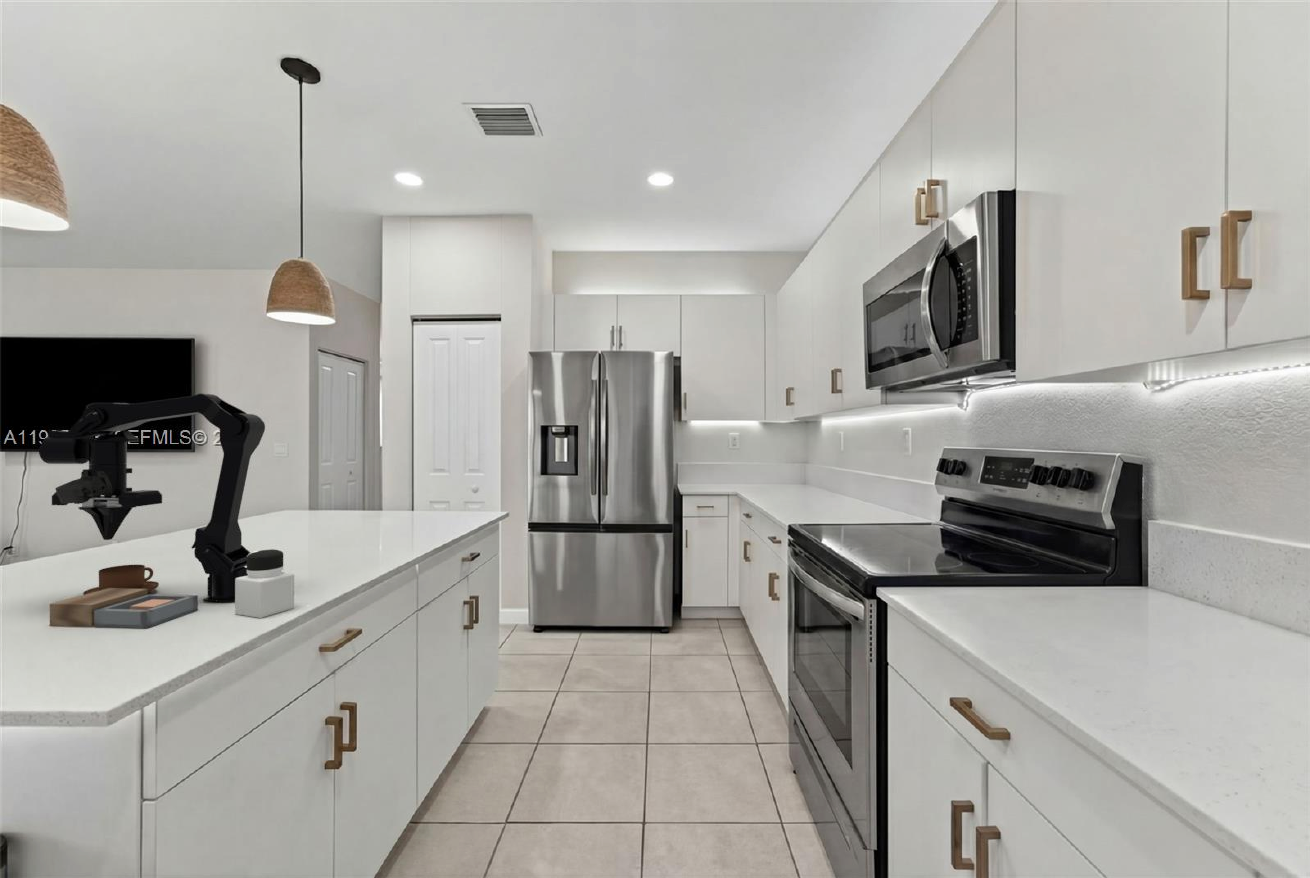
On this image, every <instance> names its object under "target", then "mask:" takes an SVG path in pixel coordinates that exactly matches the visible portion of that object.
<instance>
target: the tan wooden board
mask: <svg viewBox="0 0 1310 878" xmlns="http://www.w3.org/2000/svg"><path fill="white" fill-rule="evenodd" d="M148 594H149V593H148V589H129V588H108V589H104V590H100V591H96V592H93V593H89V594H85V595H83V594H82V595H79V596H74V597H70V598H67V599H64V600H63V599H62V600H60V601H55V602H52V603H49V626H50V627H74V628H75V627H77V628H78V627H79V628H81V627H82V628H93V627H94V610H98V609H101V608H104V607H108V606H111V605H115V604H118V603H121V602H125V601H128V600H131V599H135V598H138V597H142V596H145V595H148Z"/></svg>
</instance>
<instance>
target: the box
mask: <svg viewBox="0 0 1310 878" xmlns="http://www.w3.org/2000/svg"><path fill="white" fill-rule="evenodd" d="M151 599H158V600H175V601H172V602H169V603H166V604H163V605H160V606H157V607H154V608H151V609H148V610H134V609H130V606H132V605H136V604H139V603H142V602H145V601H148V600H151ZM198 601H199V595H197V594H167V593H166V594H162V593H161V594H160V593H159V594H158V593H148V595H145V596H142V597H138V598H135V599H131V600H128V601H125V602H121V603H118V604H115V605H111V606H108V607H104V608H101V609H98V610H94V626H93V627H94V628H106V629H107V628H111V629H112V628H113V629H117V628H118V629H142V630H143V629H144V630H145V629H150V628H153V627H155V626H158V625H161V624H163V623H167V622H169V621H172V620H175V619H177V618H180V617H183V616H186V615H188V614H191V613H194V612H197V611H198V610H199V602H198Z"/></svg>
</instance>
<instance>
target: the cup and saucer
mask: <svg viewBox="0 0 1310 878" xmlns="http://www.w3.org/2000/svg"><path fill="white" fill-rule="evenodd" d="M145 571H148V572H149V575H148V576H147V577H145V575H146V574H145ZM153 575H154V570H153V568H151V567H146V566H145V565H144V564H123V565H115V566H109V567H105V568H102V569H101V568H100V569H99V570H98V586H96V587H92V588H89V589H87V590H85V591H83V593H82V595H85V594H89V593H93V592H96V591H100V590H104V589H108V588H129V589H148V594H150V593H151V592H153V591H155V590H156V589H157V588H159V585H160V584H159V582H157V581H151V579H152V578H153Z"/></svg>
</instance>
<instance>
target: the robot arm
mask: <svg viewBox="0 0 1310 878" xmlns="http://www.w3.org/2000/svg"><path fill="white" fill-rule="evenodd" d="M200 414H201V415H202V416H203V417H204V418H205V419H206V420H207V421H208V422H209V423H210V424H211V425H213V426H215V427H216V428H218V429H219V443H220V445H221V449H222V452H223V457H222V461H221V465H220V466H221V467H220V471H219V472H220V473H219V477H218V482H217V486H216V492H215V497H214V500H213V501H214V502H213V506H212V511H211V512H212V513H211V516H210V520H209V522H208V524H207V525H206V526H202V527H198V528H196V529H195V532H194V536H195V537H194V543H193V544H192V545H191V549H194V557H195V559H197V560H198V562H200V565H201V566H202V569H203V571H204V573H205V575H208V577H207V597H205V598H202V602H212V603H213V602H214V603H215V602H216V603H233V602H235V579H236V578H238V577H243V576H247V575H249V574H247V556H248V554H250V553H251V552H250V551H249V550H248V549H247V548H246V547H245V546H243V544H242V530H241V528H240V523H239V515H240V510H241V505H242V500H243V495H244V490H245V486H246V482H247V481H246V480H247V475H248V470H249V467H250V466H249V465H250V460H251V457H252V455H253V453H254V452H255V451H256V449H257V448H258V446H259V445H260V443H261V441H262V438H263V435H264V434H265V430H266V425H265V422H264V421H263V420H262V418H261V417H260V416H259V415H256V414H253V413H247V412H245V411H244V410H242V409H241V408H238V407H236V406H234V405H232V404H231V403H229V402H227V401H225V400H224V399H222V398H220V397H219V396H218V395H216V394H212V393H211V394H210V393H201V392H200V393H197V394H195V395H194V394H193V395H187V396H182V397H180V396H179V397H176V398H174V397H173V398H167V399H166V398H165V399H160V400H159V399H158V400H151V401H146V402H143V401H142V402H137V403H136V402H135V403H131V402H130V403H127V402H92V403H89V404H88V405H86V407H85V408H84V410H83V411H82V415H81V416H80V417H79V419H78V420H77V421H76V422H75V423H73V426H71V428H70V429H69V430H68V431H66V430H48V432H47V434H48V435H47V436H46V438H44V439H43V440H42V441H41V444H40V446H39V447H38V454H39V458H40V459H41V460H42V461H43V462H44V463H45V464H48V465H52V464H53V465H74V464H75V465H83V464H87V463H88V468H87V469H85V468H84V469H82V471H81V473H80V478H76V479H75V480H74V479H73V480H70V481H69V482H66V483H64V484H61V485H59V486H56V487H55V488H54V489H55V492H54V493H53V494H52V495H51V506H67V505H68V504H75V505H79V504H81V506H78V509H79V510H81V511H84V512H86V514H89V515H90V517H92V519H93V521H94V522H95V525H96V527H97V528H98V532H99V533H100V534H101V537H102V539H103V540H104V541H109V540H113V538H114V537H115V535H116V533H117V532H118V531H119V528H120V527H121V525H122V523H123V522H124V521H125V518H126V517H127V516H128V515H129V514H130V512H131V511H132V510H133V508H137V507H143V506H150V505H151V506H153V505H158V504H163V494H162V493H161V492H160V491H159V490H158V489H157V490H155V489H154V490H153V489H152V490H150V489H142V490H133V487H127V486H128V485H127V484H128V483H127V482H128V480H127V479H128V478H127V475H128V474H133V468H132V467H131V468H128V467H127V466H128V465H127V464H128V463H127V461H128V459H127V458H128V450H127V449H128V445H127V444H128V443H136V442H139V441H140V438H138V436H136V435H134V434H133V433H131V431H130V430H128V429H132V428H135V427H138V426H141V425H143V424H144V423H148V422H151V421H158V420H164V419H165V420H166V419H172V418H174V419H175V418H180V417H187V416H194V415H200ZM114 432H118V433H114ZM94 436H98V437H97V438H94Z"/></svg>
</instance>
